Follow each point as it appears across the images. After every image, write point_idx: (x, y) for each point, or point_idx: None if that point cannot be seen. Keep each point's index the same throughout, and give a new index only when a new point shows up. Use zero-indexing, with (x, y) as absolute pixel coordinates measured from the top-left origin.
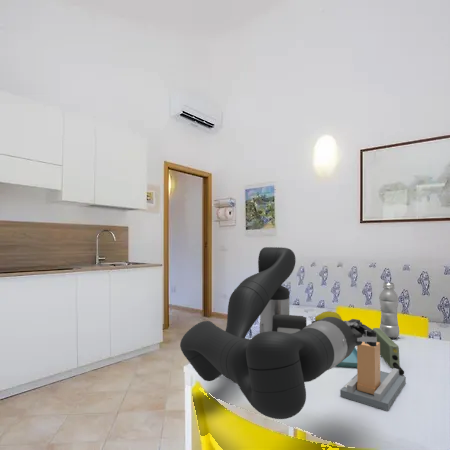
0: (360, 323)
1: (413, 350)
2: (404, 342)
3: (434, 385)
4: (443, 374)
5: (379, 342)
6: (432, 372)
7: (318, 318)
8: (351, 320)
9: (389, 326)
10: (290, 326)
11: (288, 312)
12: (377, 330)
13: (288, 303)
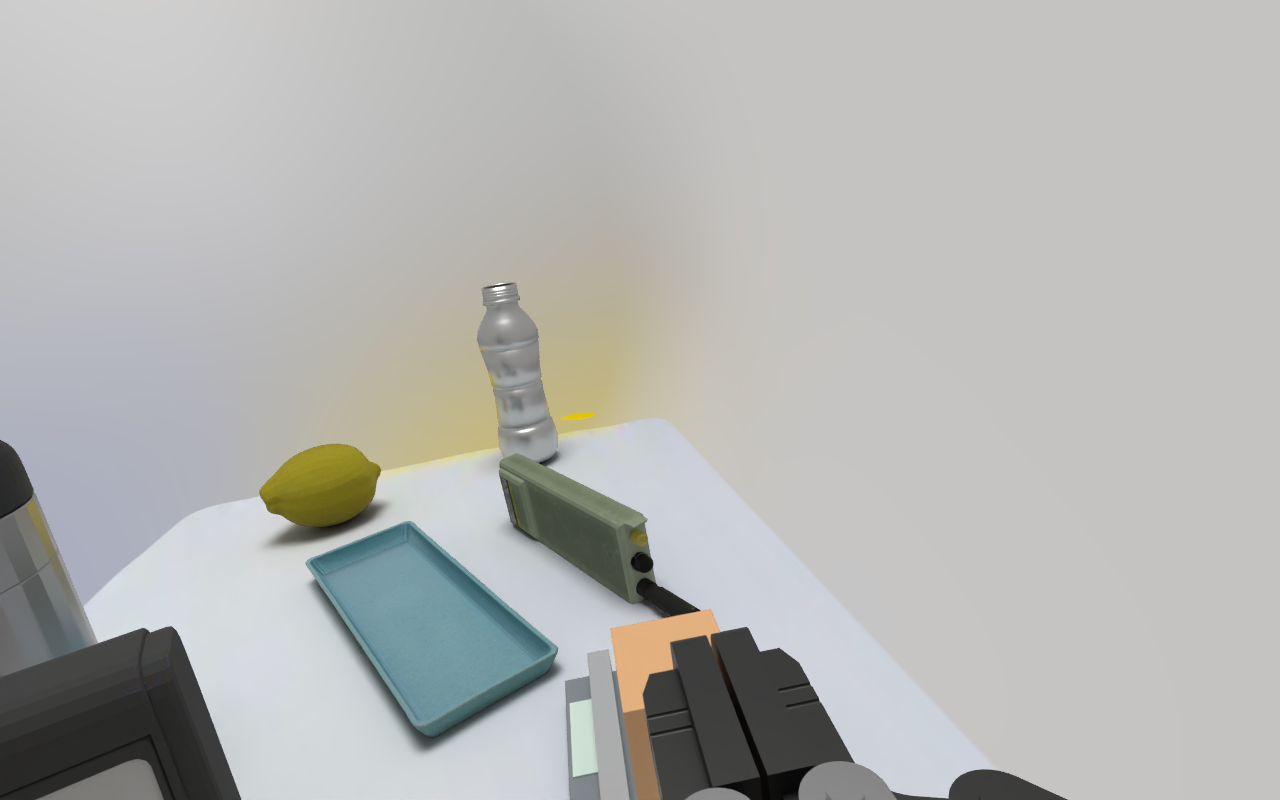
0: (804, 688)
1: (626, 482)
2: (582, 462)
3: (813, 618)
4: (778, 544)
5: (708, 610)
6: (748, 552)
7: (275, 492)
8: (710, 703)
9: (530, 429)
10: (33, 785)
11: (56, 587)
12: (520, 466)
13: (33, 535)
